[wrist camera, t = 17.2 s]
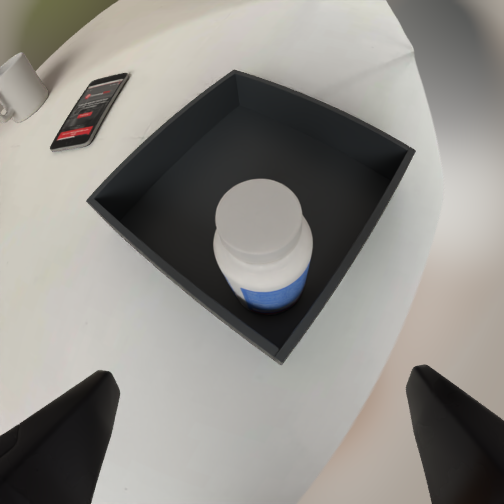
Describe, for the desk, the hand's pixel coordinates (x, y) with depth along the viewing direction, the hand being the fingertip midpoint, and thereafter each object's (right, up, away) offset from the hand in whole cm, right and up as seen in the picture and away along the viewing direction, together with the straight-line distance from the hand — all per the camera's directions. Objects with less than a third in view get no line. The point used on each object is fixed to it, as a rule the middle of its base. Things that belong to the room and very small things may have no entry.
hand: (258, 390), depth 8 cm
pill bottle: (+1, +2, +15) cm, 15 cm away
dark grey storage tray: (0, +8, +18) cm, 20 cm away
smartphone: (-23, +24, +27) cm, 42 cm away
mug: (-41, +29, +31) cm, 59 cm away
